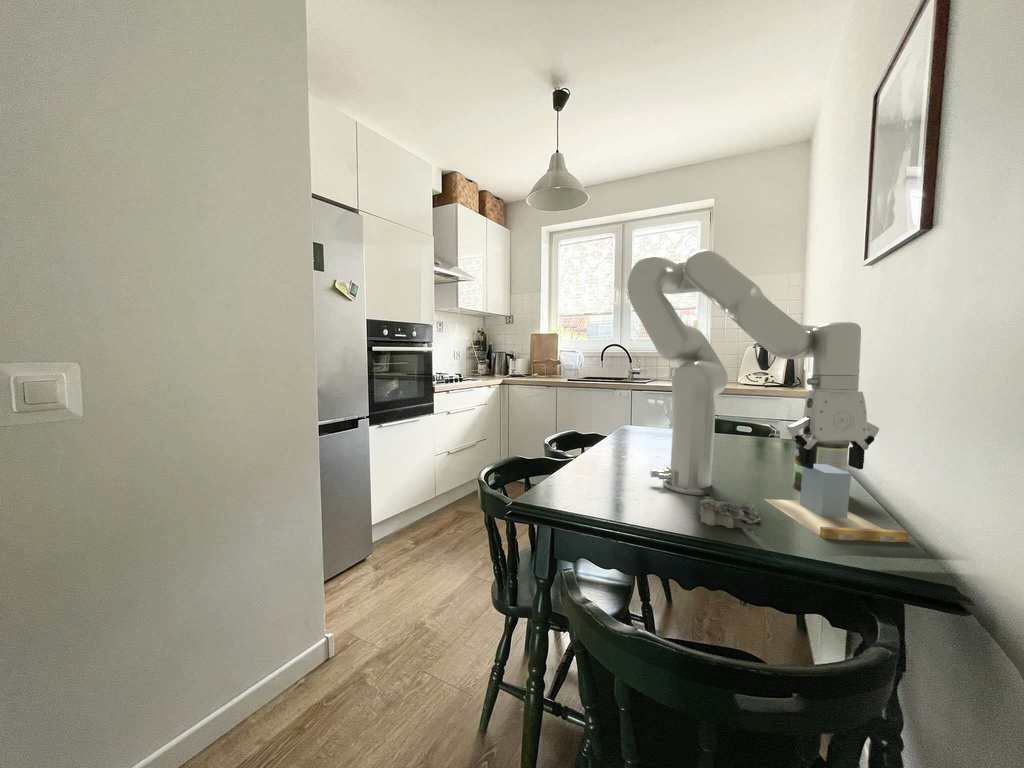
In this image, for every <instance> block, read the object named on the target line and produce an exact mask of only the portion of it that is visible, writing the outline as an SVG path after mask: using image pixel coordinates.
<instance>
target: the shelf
mask: <svg viewBox="0 0 1024 768" xmlns="http://www.w3.org/2000/svg"><path fill="white" fill-rule="evenodd" d="M763 501H765V502H766V503H768V504H770V505H771V506H772V507H774V508H776V509H778V511H781V512H782V513H784V515H787V516H788V517H789V518H791V519H793V520H794V521H796V522H798V523H799V524H800V525H802V526H804V527H805V528H807V529H808V530H809V531H811V532H813V533H814V534H816V535H817V536H819V537H820V538H821V539H823V540H839V541H869V542H881V543H909V540H910V532H909V531H907V530H905V529H902V530H901V529H884V528H882V527H880V526H878V525H876V524H874V523H872V522H870V521H868V520H866V519H865V518H863V517H861V516H859V515H857V514H855V513H853V512H851V511H849V510H848V514H847V518H837V517H821V516H819V515H817V514H816V513H814V512H812V511H810V510H809V509H807V508H805V507H804V506H802V505H800V499H799V500H798V499H796V500H795V499H774V498H773V499H772V498H771V499H770V498H763Z"/></svg>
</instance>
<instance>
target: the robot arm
mask: <svg viewBox="0 0 1024 768" xmlns="http://www.w3.org/2000/svg"><path fill="white" fill-rule="evenodd" d="M700 292H701V293H702V294H703V295H704V296H705V297H707V298H708V300H710V301H711V302H712V303H713V304H715V305H716V306H717V308H719V309H720V310H721V311H723V312H724V313H725V314H726V315H727V316H728V317H729V319H731V320H732V321H733V322H735V324H736V325H738V326H739V327H740V329H742V330H743V332H745V333H746V334H747V335H748V336H749V337H750V338H751V339H752V340H754V341H755V342H756V343H757V344H758V345H760V346H761V347H762V348H763V349H764V350H766V351H767V352H768V353H770V354H771V355H772V356H774V357H776V358H778V359H784V360H798V359H807V358H813V359H812V361H813V362H812V375H811V378H807V379H806V385H809V386H811V389H809V390H808V393H807V396H806V400H805V403H804V404H805V405H804V411H803V416H802V419H799V421H796V422H794V423H792V424H790V425H788V426H787V430H788V433H789V435H790V436H791V439H792V440H793V441H794V442H795V444H796V443H797V445H798V446H799V447H800V464H801V466H803V467H806V468H808V469H812V468H813V466H814V450H813V449H811V447H812V446H813V445H814V444H815V443H816V442H817V441H818V440H821V441H849V442H850V445H851V446H849V447H848V461H847V465H848V466H849V467H851V468H855V469H856V470H863V469H864V464H865V451H867V450H868V449H869V446H870V445H871V444H872V443H873V442H874V441H875V437H876V436H877V435H878V433H879V431H880V428H879V427H878V426H877V425H875V424H873V423H871V422H868V419H867V418H868V417H867V413H868V412H867V405H866V400H865V396H864V395H865V394H864V392H863V391H860V390H859V384H860V383H859V381H860V364H861V363H860V362H861V343H862V328H861V325H859V323H857V322H852V321H851V322H849V321H843V322H842V321H837V322H825V323H820V324H818V325H807V324H801V323H798V322H797V321H796V320H794V319H793V318H792V317H790V316H789V315H788V314H787V313H785V312H784V311H783V310H781V308H779V307H778V306H777V305H775V304H774V303H773V302H772V301H771V300H769V298H767V296H765V294H764V293H763V291H762V290H761V288H760V287H759V286H758V285H757V284H756V283H755V282H754V281H752V279H750V278H749V277H747V276H746V275H745V274H743V273H742V272H741V271H739V270H738V269H737V268H736V267H735V266H734V265H732V264H730V262H729V260H727V259H726V258H725V257H724V256H722V255H720V254H719V253H717V252H715V251H713V250H711V249H710V250H709V249H701V250H697V251H695V252H693V253H692V254H690V255H689V256H688V258H687V259H686V260H681V261H673V260H671V259H669V258H666V257H663V256H659V255H652V254H651V255H646V256H644V257H642V258H640V259H638V261H637V262H636V263H635V264H634V266H633V267H632V269H631V270H630V274H629V276H628V280H627V294H628V299H629V302H630V305H631V306H632V308H633V309H634V312H635V313H636V315H637V317H638V319H639V320H640V322H641V324H642V326H643V328H644V330H645V332H646V333H647V336H648V337H649V338H650V340H651V342H652V344H653V345H654V347H655V349H656V352H657V353H658V354H659V356H660V357H662V358H663V360H666V361H669V362H677V365H678V368H677V369H676V370H675V372H674V373H673V377H672V380H671V391H672V407H673V408H672V410H673V412H672V413H673V414H672V434H671V453H670V465H666V468H663V470H661V469H660V470H659V469H650V472H649V473H650V477H651V478H658V480H662V484H663V486H664V487H665V488H667V489H669V490H670V491H673V492H677V493H681V494H686V495H690V496H692V495H693V496H709V495H710V494H709V493H708V492H707V491H706V490H704V489H706V488H709V487H711V485H712V471H713V460H714V459H713V457H714V443H715V442H714V441H715V422H716V407H715V405H716V404H715V396H717V395H720V394H721V393H722V392H724V390H725V389H726V387H727V385H728V380H729V377H728V372H727V370H726V368H725V366H724V365H723V363H722V361H721V359H720V358H719V356H718V355H717V353H716V351H715V350H714V349H713V347H712V345H711V343H710V342H709V340H708V339H707V338H706V335H704V333H703V332H701V330H699V329H698V328H696V327H695V326H691V325H687V324H685V323H684V322H683V320H682V319H681V317H680V316H679V314H678V313H677V312H676V310H675V308H674V306H673V304H672V303H671V301H670V300H668V298H667V296H666V295H675V294H685V293H687V294H689V293H700ZM665 294H666V295H665ZM801 430H802V433H803V434H802V435H804V436H803V437H802V436H800V435H801V433H800V431H801Z"/></svg>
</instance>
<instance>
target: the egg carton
mask: <svg viewBox="0 0 1024 768" xmlns="http://www.w3.org/2000/svg"><path fill="white" fill-rule="evenodd" d="M698 510H699V511H698V513H699V517H700V522H701V523H704V524H707V525H708V526H712V527H713V526H715V525H716V526H717V525H719V526H720V525H721V526H724V527H725V528H728V529H734V528H741V529H744V530H745V531H748V532H753V529H751V528H750V527H749V526H748V525H747V524H754V523H755V524H756V523H759V522H760V521H761V520H762V519H761V517H760V513H759V512H758V510H757V508H756V505H755V504H754V503H748V504H746V503H743V504H742V503H738V502H737V503H735V502H734V501H729V502H726V501H718V500H715V499H712V498H704V499H702V500H700V501H699V509H698ZM745 512H746V513H749V518H750V519H751V520H750V519H749V518H747V517H746V516H745ZM743 521H744V522H743ZM745 522H746V523H747V524H745Z"/></svg>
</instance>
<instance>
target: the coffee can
mask: <svg viewBox="0 0 1024 768" xmlns="http://www.w3.org/2000/svg"><path fill="white" fill-rule="evenodd" d="M800 436H802V437H803V436H804V434H800ZM795 444H796V445H795V451H794V466H793V477H792V478H793V479H792V488H793V489H794V490H796V491H799V492H800V493H801V482H802V470H803V466H801V464H800V447H799V446H798V445H797V443H796V442H795ZM850 445H851V443H850V442H849V441H821V440H818V441H817V442H816V443H815V444H814V445H813V446H812V447H811V449H813V450H814V464H828V465H830V466H833V467H835V468H838V469H840V470H843V471H845V472H847V465H848V457H849V447H850Z"/></svg>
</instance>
